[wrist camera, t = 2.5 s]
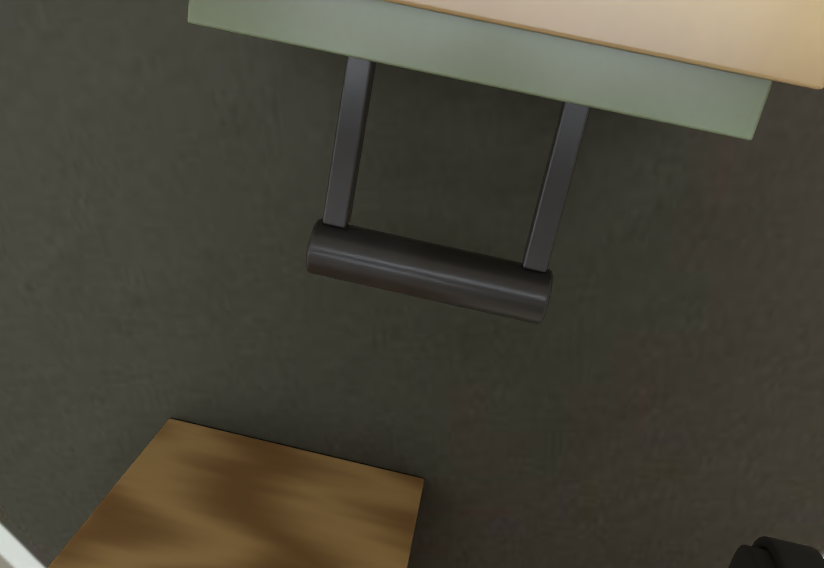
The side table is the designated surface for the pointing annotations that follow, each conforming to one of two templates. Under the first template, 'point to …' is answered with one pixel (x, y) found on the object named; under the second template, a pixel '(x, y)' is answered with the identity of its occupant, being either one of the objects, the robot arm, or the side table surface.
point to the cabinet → (675, 30)
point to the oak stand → (246, 509)
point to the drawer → (493, 66)
